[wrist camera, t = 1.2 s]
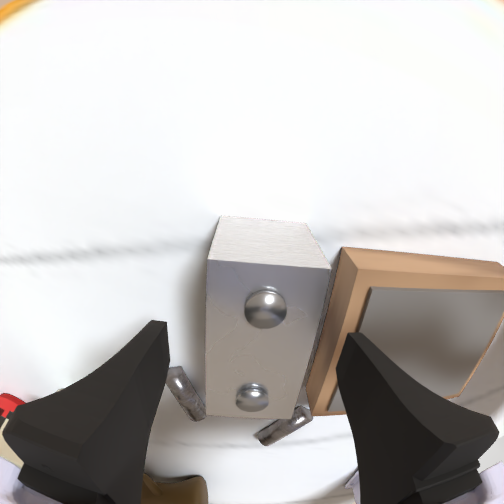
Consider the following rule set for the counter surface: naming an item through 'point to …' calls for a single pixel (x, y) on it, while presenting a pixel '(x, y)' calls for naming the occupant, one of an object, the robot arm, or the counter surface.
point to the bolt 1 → (185, 393)
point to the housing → (261, 315)
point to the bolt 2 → (285, 426)
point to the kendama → (174, 491)
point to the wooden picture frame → (409, 319)
